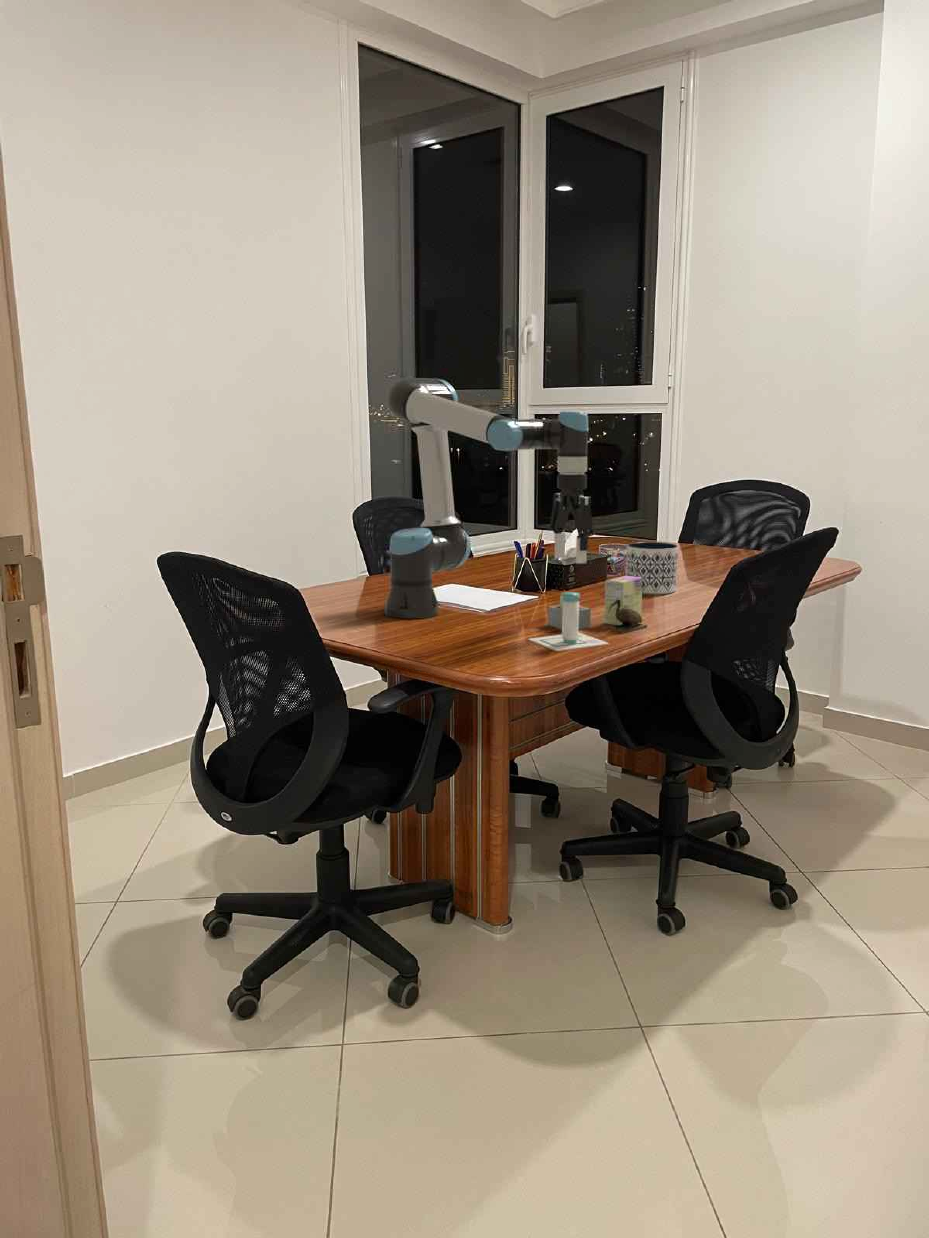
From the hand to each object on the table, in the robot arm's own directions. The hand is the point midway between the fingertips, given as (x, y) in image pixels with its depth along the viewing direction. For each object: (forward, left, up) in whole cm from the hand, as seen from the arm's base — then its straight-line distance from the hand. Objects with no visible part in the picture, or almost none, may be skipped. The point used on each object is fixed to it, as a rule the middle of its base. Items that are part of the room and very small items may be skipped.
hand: (570, 560), depth 248 cm
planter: (+52, +32, -18) cm, 64 cm away
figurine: (+10, -11, -18) cm, 23 cm away
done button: (0, 0, -16) cm, 16 cm away
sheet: (-10, -15, -18) cm, 25 cm away
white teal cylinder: (-10, -17, -17) cm, 26 cm away
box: (+16, -2, -18) cm, 24 cm away
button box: (0, 0, -18) cm, 18 cm away
